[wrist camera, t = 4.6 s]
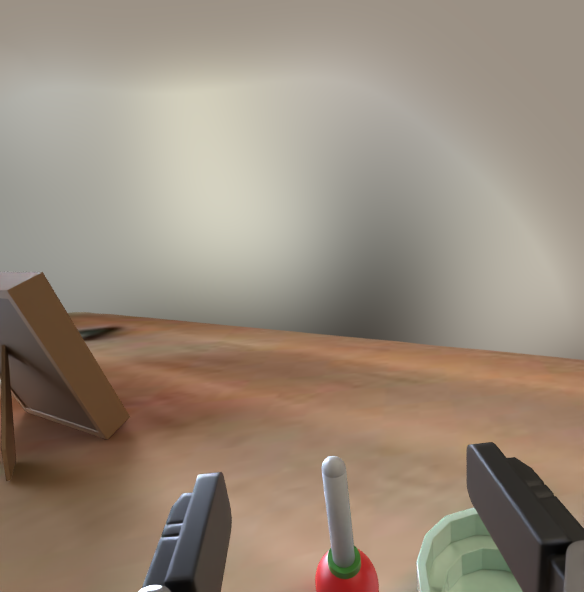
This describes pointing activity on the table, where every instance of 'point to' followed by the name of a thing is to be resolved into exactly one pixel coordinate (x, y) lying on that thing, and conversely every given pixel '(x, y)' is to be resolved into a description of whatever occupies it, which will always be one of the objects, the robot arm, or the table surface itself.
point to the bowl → (462, 558)
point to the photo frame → (48, 365)
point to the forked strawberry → (342, 539)
